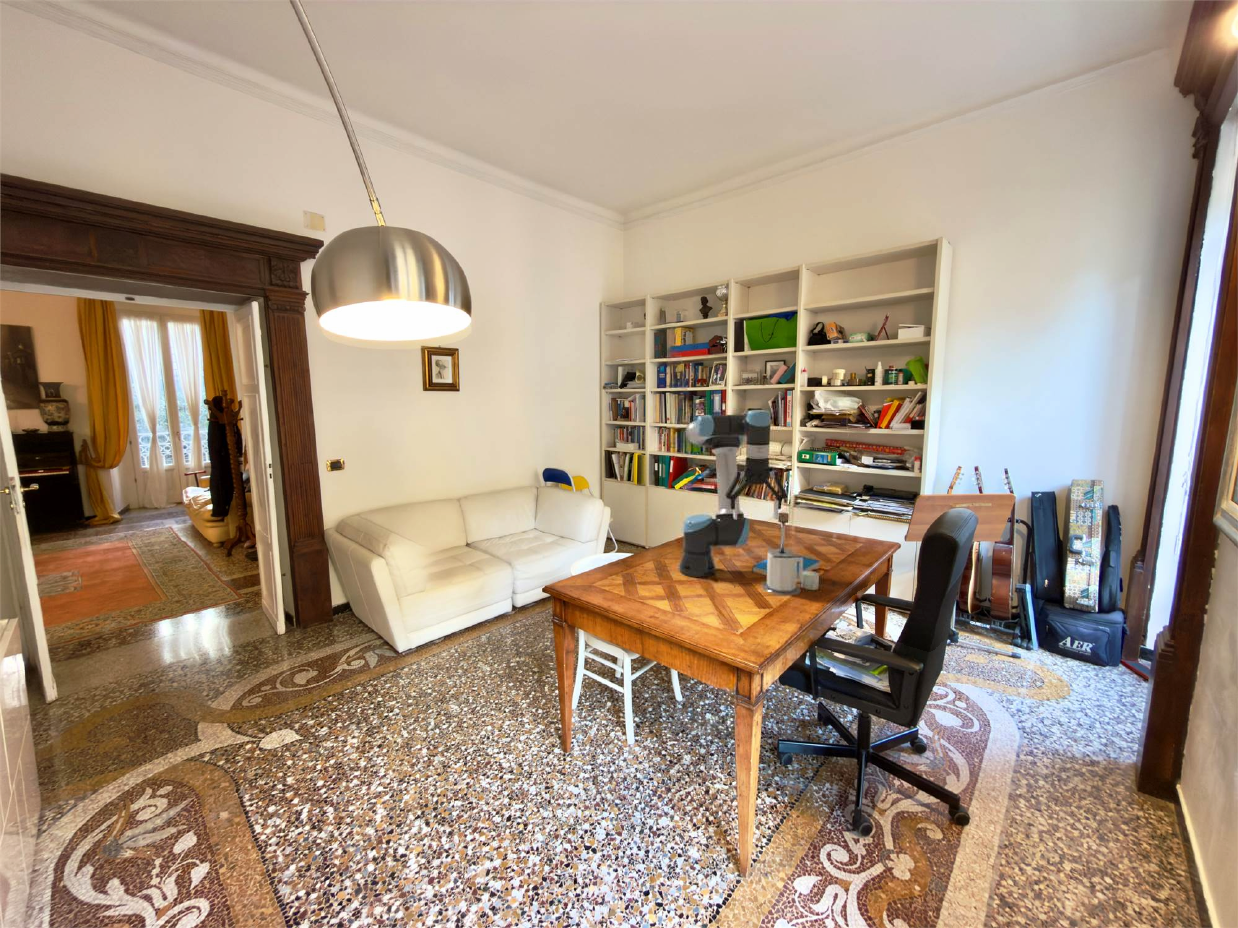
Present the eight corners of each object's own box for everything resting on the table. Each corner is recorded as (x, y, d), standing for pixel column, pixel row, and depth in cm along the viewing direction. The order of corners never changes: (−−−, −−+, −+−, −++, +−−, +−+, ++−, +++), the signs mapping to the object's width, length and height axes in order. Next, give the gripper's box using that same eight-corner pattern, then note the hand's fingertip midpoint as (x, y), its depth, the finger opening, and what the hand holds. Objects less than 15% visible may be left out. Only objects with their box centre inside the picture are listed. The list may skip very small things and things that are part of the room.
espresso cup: (799, 585, 185) (799, 570, 184) (814, 585, 185) (815, 570, 184) (805, 593, 178) (806, 578, 177) (822, 593, 177) (822, 578, 177)
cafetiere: (763, 582, 187) (764, 548, 185) (796, 582, 186) (798, 547, 184) (771, 593, 176) (772, 557, 174) (806, 593, 176) (807, 556, 174)
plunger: (775, 553, 181) (777, 512, 179) (785, 553, 181) (787, 512, 179) (778, 556, 178) (780, 514, 176) (788, 556, 178) (790, 514, 175)
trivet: (757, 582, 189) (757, 580, 188) (793, 582, 188) (794, 580, 188) (767, 597, 175) (767, 595, 175) (806, 597, 174) (806, 595, 174)
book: (820, 560, 203) (790, 574, 186) (819, 570, 203) (790, 585, 186) (782, 551, 215) (751, 564, 198) (782, 560, 216) (751, 574, 199)
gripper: (721, 458, 157) (720, 521, 161) (799, 458, 156) (795, 521, 160) (717, 455, 165) (716, 515, 168) (791, 454, 163) (789, 515, 167)
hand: (755, 518), depth 164 cm, fingers open, 13 cm apart
